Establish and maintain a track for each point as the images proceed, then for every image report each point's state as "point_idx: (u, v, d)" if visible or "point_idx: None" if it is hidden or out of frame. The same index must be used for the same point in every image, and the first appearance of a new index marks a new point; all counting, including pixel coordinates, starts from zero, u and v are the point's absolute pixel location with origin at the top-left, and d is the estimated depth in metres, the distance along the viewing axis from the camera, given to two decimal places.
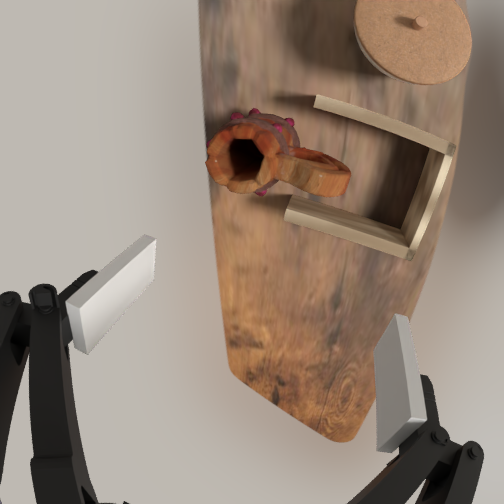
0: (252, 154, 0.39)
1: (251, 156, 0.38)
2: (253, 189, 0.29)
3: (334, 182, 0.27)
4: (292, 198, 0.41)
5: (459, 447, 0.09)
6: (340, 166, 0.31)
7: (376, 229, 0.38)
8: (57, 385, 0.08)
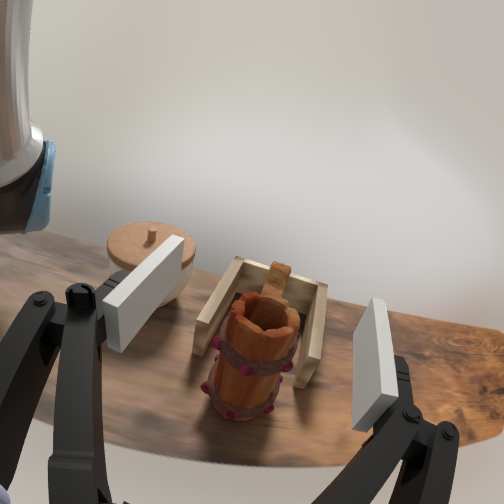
0: None
1: None
2: (294, 309, 0.29)
3: None
4: (297, 377, 0.38)
5: (432, 428, 0.10)
6: None
7: (310, 314, 0.47)
8: (86, 386, 0.08)
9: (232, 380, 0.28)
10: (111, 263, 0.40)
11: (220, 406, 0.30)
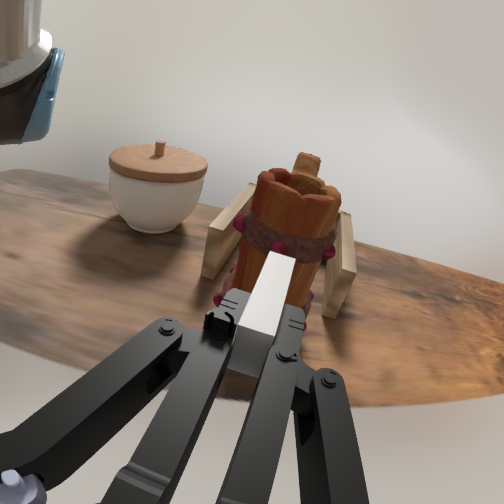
0: None
1: None
2: None
3: None
4: (327, 302, 0.33)
5: (310, 379, 0.11)
6: None
7: (334, 242, 0.41)
8: (193, 414, 0.09)
9: (258, 275, 0.23)
10: (112, 175, 0.35)
11: None
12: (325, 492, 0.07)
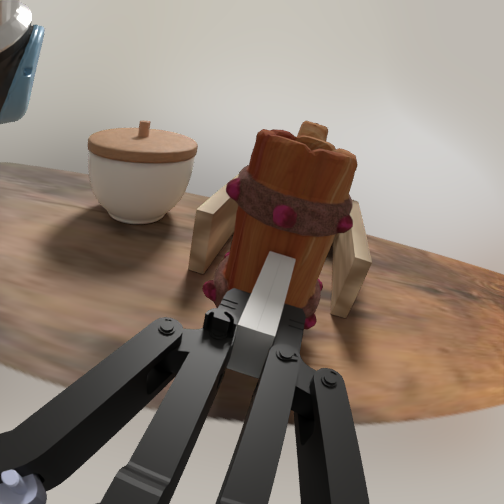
0: None
1: None
2: None
3: None
4: (337, 298, 0.28)
5: (310, 379, 0.11)
6: None
7: None
8: (193, 414, 0.09)
9: (257, 252, 0.19)
10: (91, 158, 0.30)
11: None
12: (325, 492, 0.07)
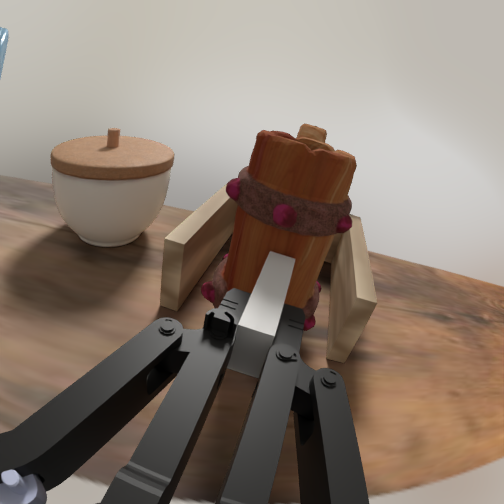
0: None
1: None
2: None
3: None
4: (334, 341, 0.23)
5: (310, 379, 0.11)
6: None
7: (341, 254, 0.32)
8: (193, 414, 0.09)
9: (256, 252, 0.19)
10: (53, 174, 0.25)
11: None
12: (325, 493, 0.07)
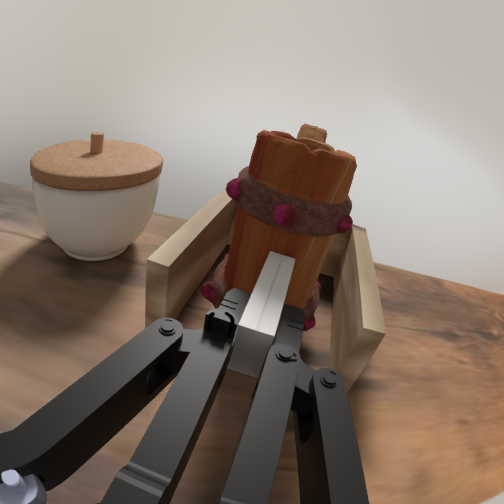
0: None
1: None
2: None
3: None
4: None
5: (309, 379, 0.11)
6: None
7: (344, 270, 0.29)
8: (193, 414, 0.09)
9: (256, 252, 0.19)
10: (32, 184, 0.22)
11: None
12: (324, 493, 0.07)
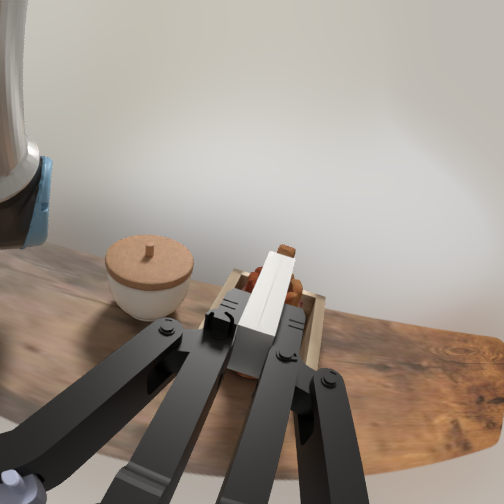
0: None
1: None
2: (297, 280, 0.37)
3: None
4: None
5: (310, 379, 0.11)
6: None
7: (308, 327, 0.47)
8: (193, 414, 0.09)
9: None
10: (110, 278, 0.40)
11: None
12: (325, 492, 0.07)
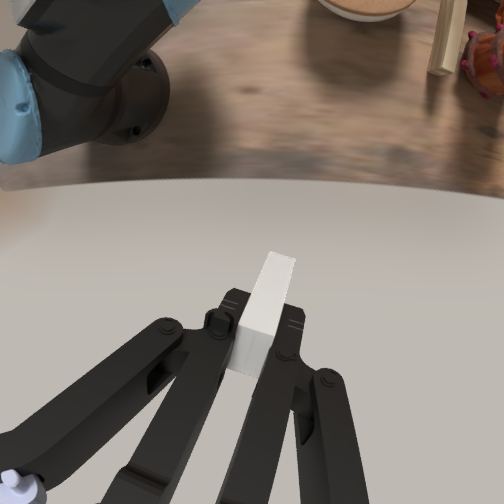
0: None
1: None
2: None
3: None
4: None
5: (310, 379, 0.11)
6: None
7: None
8: (193, 414, 0.09)
9: (497, 84, 0.22)
10: None
11: (476, 85, 0.26)
12: (325, 493, 0.07)
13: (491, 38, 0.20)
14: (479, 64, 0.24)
